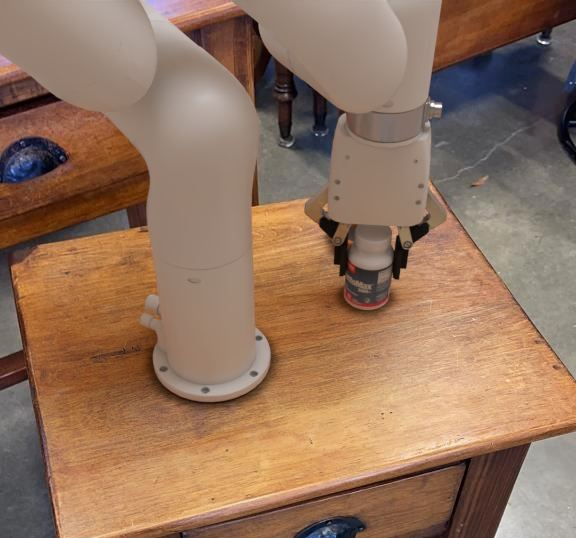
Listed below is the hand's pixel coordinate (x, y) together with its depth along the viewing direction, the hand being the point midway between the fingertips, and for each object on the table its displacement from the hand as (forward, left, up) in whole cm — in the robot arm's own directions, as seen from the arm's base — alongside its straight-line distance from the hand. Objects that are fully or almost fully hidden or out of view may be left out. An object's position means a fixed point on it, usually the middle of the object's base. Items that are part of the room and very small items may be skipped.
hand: (369, 268), depth 93 cm
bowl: (-6, +8, -4) cm, 11 cm away
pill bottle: (0, 0, -4) cm, 4 cm away
